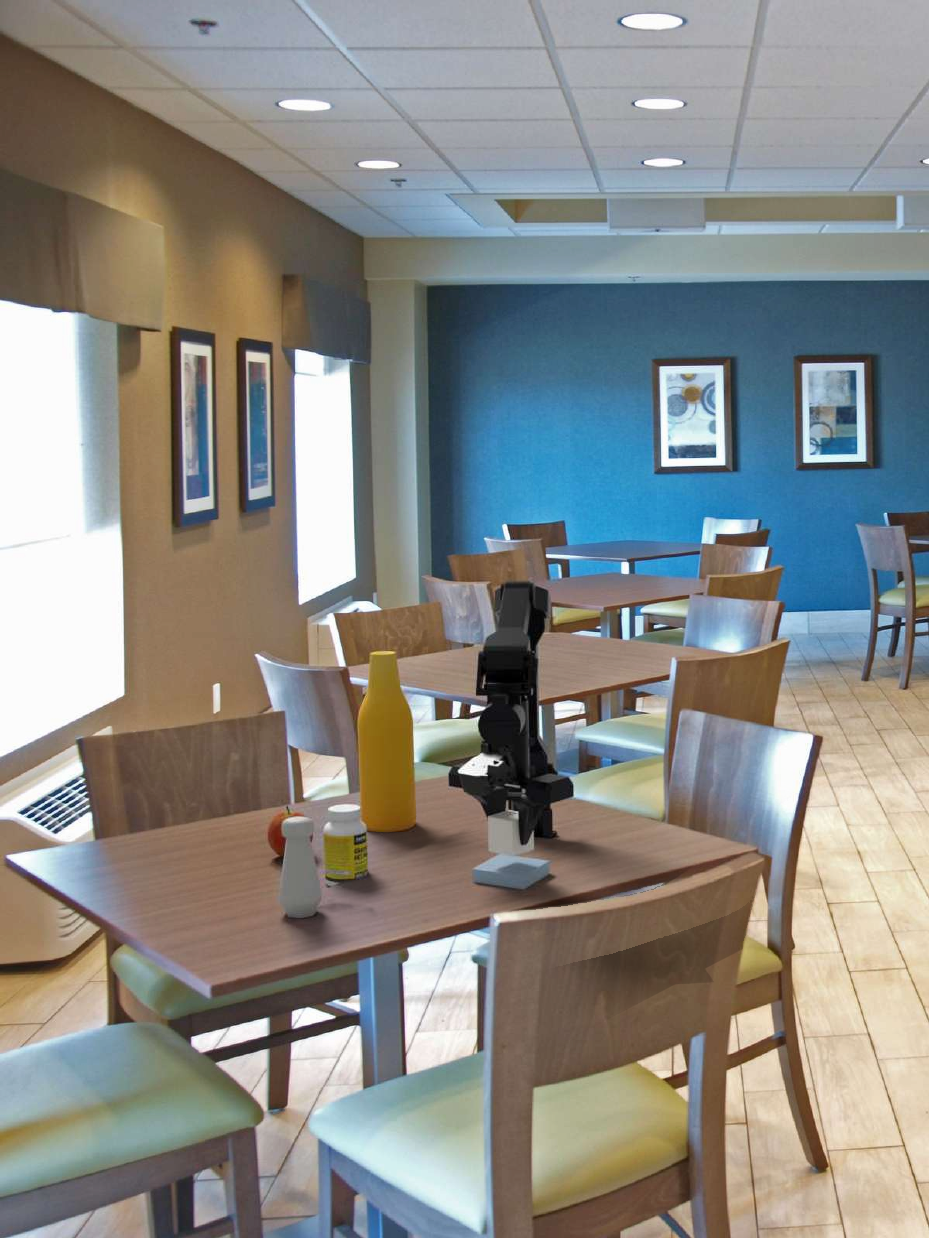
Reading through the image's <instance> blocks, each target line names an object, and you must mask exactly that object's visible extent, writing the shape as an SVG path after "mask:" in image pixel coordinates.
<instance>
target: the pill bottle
mask: <svg viewBox="0 0 929 1238" xmlns="http://www.w3.org/2000/svg"><path fill="white" fill-rule="evenodd" d="M360 806H361V805H358V804H347V803H346V804H344V803H343V804H336V805H332V806H330V807H328V809H327V816H328V819H329V822H327V823H326V824H325V825H324V827H323V853H324V856H323V857H324V879H325V884H326V885H327V886H328V887H334V886H336V885H338V884H341V883H344V882H346V881H351V880H352V881H353V880H359V879H362V878H364V877H366V876H367V875H369V864H368V863H369V861H368V858H369V857H368V830H367V828H366V825H365V824H364V823H363V822H362V821H361V807H360Z"/></svg>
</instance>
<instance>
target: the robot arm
mask: <svg viewBox="0 0 929 1238" xmlns="http://www.w3.org/2000/svg"><path fill="white" fill-rule="evenodd" d="M551 598H552V597H551V595H550V592H549V590H548V589H546V588H543V587H541V586H538V585H536V584H535V582H531V581H530V580H514V581H513V580H511V581H509V580H507V581H505V582H501V583H500V587H499V588H497V589H496V590H494V600H493V601H494V604H493V605H494V606H493V607H494V609H493V610H494V611H493V613H494V615H495V618H496V619H497V624H496V629H495V632H493V633H491V634H490V635H488V636H487V637H485V640H484V644H483V647H482V650H479V651H478V654H477V655H478V657H477V669H476V671H477V672H476V685H475V697H486V706H485V708H484V709H483V711H481V714H480V716H479V718H478V722H477V730H478V733H479V735H480V737H481V738H482V740H481V743H480V753H479V754H478V755H477V756H474V757H472V758H471V759H470V760H469V761H466V762H463V763H460V764H459V763H458V764H455V765H453V766H452V767H451V768H450V770H449V771H448V777H447V778H448V787H452V788H457V789H462V790H463V792H464V793H466V794H467V795H468V796H471V797H472V798H474V799H475V800H477V801H478V802H479V803H480V805H481V807H482V809H483V811H484V812H483V813H485V817H486V820H487V821H488V816H491V815H494V814H497V813H500V812H504V811H507V810H512V811H517V812H518V817H519V836H520V843H521V845H526V844H527V843H528V841H529V839H530V837H531V834H532V832H533V830H534V838H539V839H548V838H551V837H554V836H557V835H558V831H557V830H554V828H553V825H554V824H553V823H554V822H553V809H552V808H551V804H554V803H557V802H561V801H564V800H567V799H570V798H573V797H575V794H574V789H575V787H574V781H573V780H572V779H571V778H570V777H569V776H566V775H562V774H561V775H559V771H557V770H556V767H555V763H554V762H551V752H550V751H551V750H550V749H549V747H548V745H547V744H546V743H545V741H544V740H543V738H542V736H541V734H540V733H541V732H540V731H541V730H540V690H539V689H540V688H539V687H540V685H539V680H540V679H539V663H540V661H539V643H540V641H541V639H542V637H543V636H544V633H545V632H546V630H547V628H548V619H551V617H552V599H551ZM507 804H508V805H507ZM507 806H508V809H506V807H507Z"/></svg>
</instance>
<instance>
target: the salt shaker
mask: <svg viewBox="0 0 929 1238" xmlns="http://www.w3.org/2000/svg"><path fill="white" fill-rule="evenodd" d="M314 828H315V825H314V821H313V820H312V819H311V818H309V817H307V816H306V817H298V816H297V817H291V818H287V819H285V820H284V821H283V822H282V828H281V830H282V835H283V837H285V838H286V846H285V853H284V857H283V862H282V867H281V878H280V885H279V891H278V901H279V904H280V905H281V907H282V908H283V910H284V912H285V914H286V916H287V918H295V919H302V918H307V917H313V916H314V915H315V914H316V912H317V910H318V909H319V905H320V903H321V901H322V895H323V892H322V887H321V883H320V879H319V878H320V877H319V873H318V869H317V868H318V867H317V864H316V860H315V855H314V850H313V846H312V843H311V840H310V836H311V835H313V836H314V830H315V829H314Z"/></svg>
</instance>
